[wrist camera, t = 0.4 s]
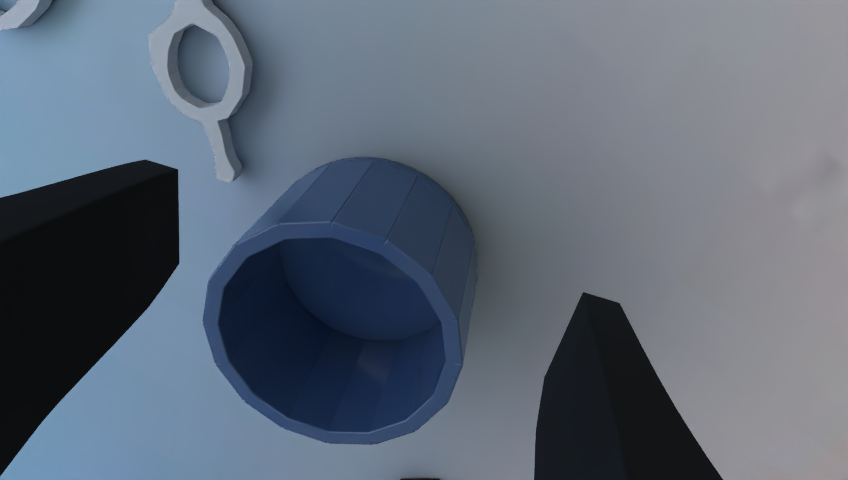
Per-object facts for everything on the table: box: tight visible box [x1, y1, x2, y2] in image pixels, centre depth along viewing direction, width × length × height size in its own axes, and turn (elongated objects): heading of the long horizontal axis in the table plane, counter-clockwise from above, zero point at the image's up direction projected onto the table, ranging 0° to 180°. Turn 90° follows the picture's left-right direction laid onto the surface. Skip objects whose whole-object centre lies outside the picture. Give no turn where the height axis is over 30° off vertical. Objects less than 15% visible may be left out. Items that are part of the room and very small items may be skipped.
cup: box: [203, 157, 477, 445], centre depth 21 cm, size 8×8×6 cm
